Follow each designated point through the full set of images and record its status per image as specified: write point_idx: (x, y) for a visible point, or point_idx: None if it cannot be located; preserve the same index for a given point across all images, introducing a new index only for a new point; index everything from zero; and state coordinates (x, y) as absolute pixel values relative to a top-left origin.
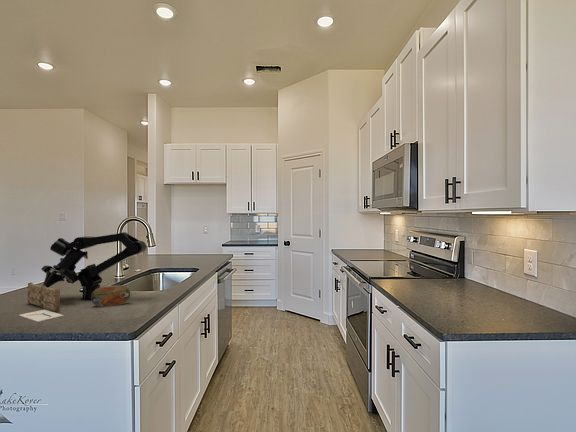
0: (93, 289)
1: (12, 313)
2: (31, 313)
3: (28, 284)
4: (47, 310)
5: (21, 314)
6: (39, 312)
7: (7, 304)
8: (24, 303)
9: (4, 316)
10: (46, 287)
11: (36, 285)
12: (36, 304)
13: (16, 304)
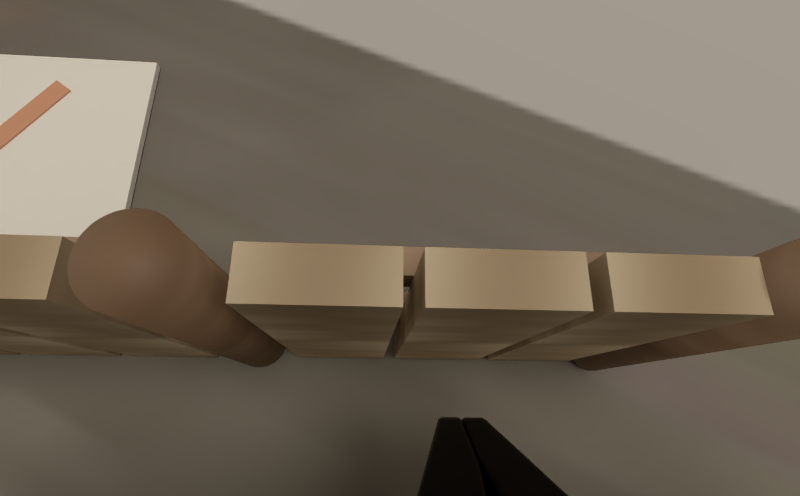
0: None
1: (298, 77)
2: (89, 136)
3: (783, 246)
4: None
5: (149, 78)
6: (42, 192)
7: (716, 201)
8: None
9: (257, 9)
10: (7, 285)
11: (492, 274)
12: (395, 327)
13: (651, 248)
